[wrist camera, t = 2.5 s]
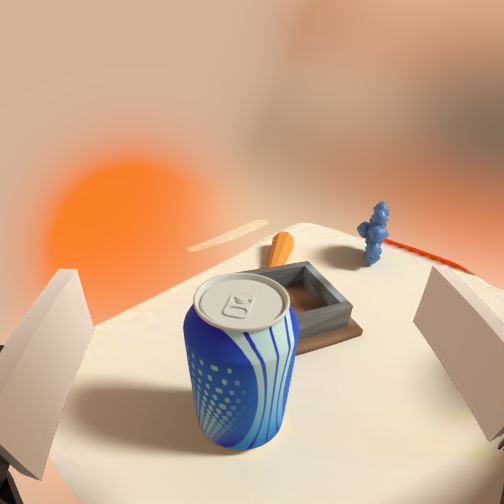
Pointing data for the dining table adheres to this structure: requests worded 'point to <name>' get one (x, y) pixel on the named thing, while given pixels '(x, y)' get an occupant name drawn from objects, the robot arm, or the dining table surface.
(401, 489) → the dining table surface
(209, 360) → the beer can
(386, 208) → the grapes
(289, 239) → the carrot
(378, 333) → the dining table surface
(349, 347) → the dining table surface
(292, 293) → the holder
